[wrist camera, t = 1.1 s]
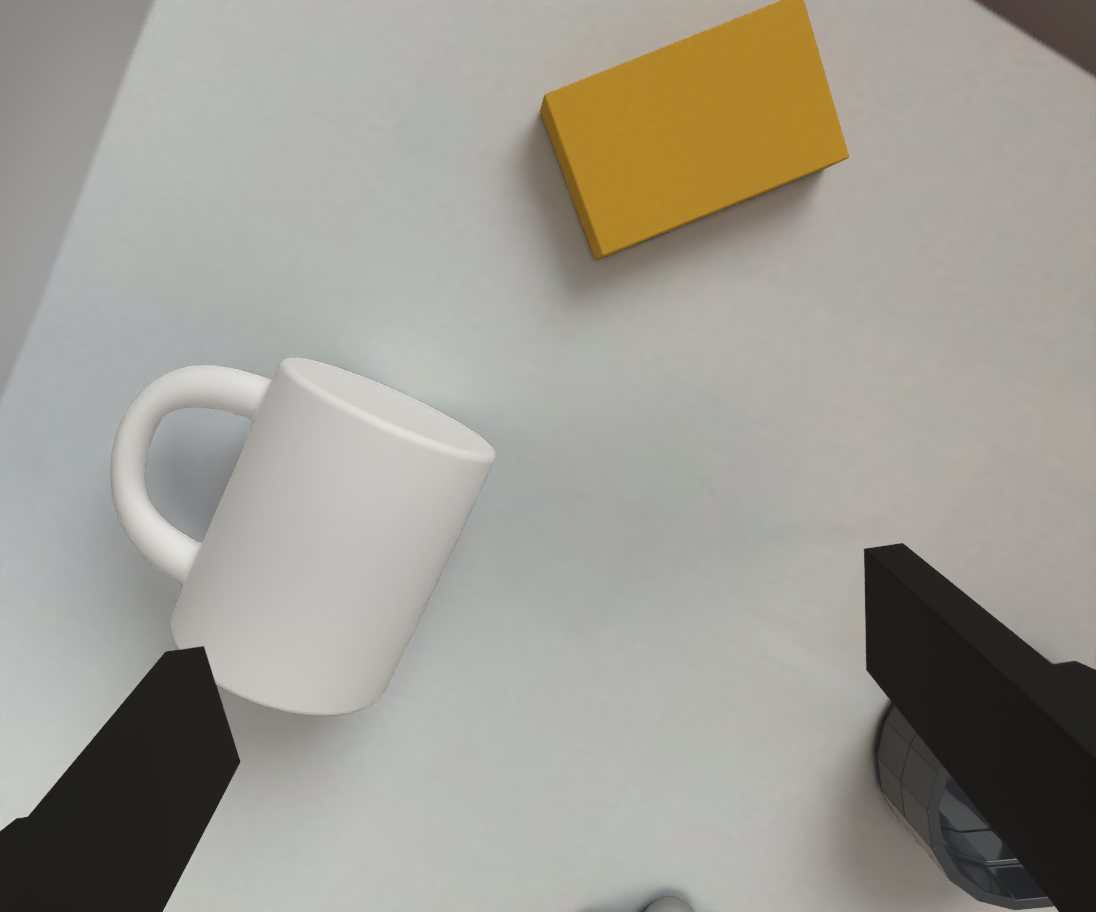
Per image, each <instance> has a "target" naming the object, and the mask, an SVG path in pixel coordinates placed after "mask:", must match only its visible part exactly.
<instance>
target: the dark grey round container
mask: <svg viewBox="0 0 1096 912" xmlns="http://www.w3.org/2000/svg"><path fill="white" fill-rule="evenodd" d="M1045 659H1046V658H1045ZM1047 660H1048V659H1047ZM1048 661H1049V660H1048ZM1049 662H1050V663H1052V664H1054V663H1053V662H1051V661H1049ZM878 766H879V774H880V781H881V789H882V792H883V794H884V796H885V797H886V799H887V801H888V802H889V804H890V806H891V808H892V809H893V811H894V813H895V815H896V816H897V818H898V819H899V820H900V821H901V823H902V824H903V825H904V826H905V827H906V829H907V830H908V831H909V832H910V833H911V835H912V836H913V837H914V838H915V839H916V841H917V842H918V843H919V844H920V845H921V846H922V848H923V849H924V850H925V851H926V853H927V854H928V855H929V856H930V857H931V859H932V860H933V861H934V862H935V863H936V865H937V866H938V867H939V868H940V869H941V871H942V872H943V873H944V874H945V875H946V876H947V878H948V879H949V880H950V881H951V882H953V883H954V884H956V885H957V886H958V887H960V888H961V889H962V890H964V891H965V892H966V893H968V894H969V895H971V896H972V897H973V898H975V899H976V900H978V901H980V902H984V903H988V904H992V905H996V906H1000V907H1004V908H1008V909H1012V910H1022V909H1032V908H1043V907H1053V906H1054V905H1053V903H1052V902H1051V901H1050V900H1049V898H1048V897H1047V896H1046V895H1045V893H1044V892H1043V891H1042V890H1041V888H1040V887H1039V886H1038V885H1037V883H1036V882H1035V881H1034V880H1033V878H1032V877H1031V876H1030V875H1029V873H1028V872H1027V871H1026V870H1025V868H1024V867H1023V866H1022V864H1021V863H1020V862H1019V861H1018V859H1017V858H1016V857H1015V856H1014V854H1013V853H1012V852H1011V851H1010V849H1009V848H1008V847H1007V846H1006V844H1005V843H1004V842H1003V841H1002V839H1001V838H1000V837H999V836H998V834H997V833H996V832H995V831H994V829H993V828H992V827H991V826H990V824H989V823H988V822H987V821H986V819H985V818H984V817H983V816H982V814H981V813H980V812H979V811H978V809H977V808H976V807H975V806H974V804H973V803H972V802H971V801H970V799H969V798H968V797H967V795H966V794H965V793H964V792H963V790H962V789H961V788H960V787H959V785H958V784H957V783H956V782H955V780H954V779H953V778H952V777H951V775H950V774H949V773H948V772H947V770H946V769H945V768H944V767H943V765H942V764H941V763H940V762H939V760H938V759H937V758H936V757H935V755H934V754H933V753H932V752H931V750H930V749H929V748H928V747H927V745H926V744H925V743H924V742H923V740H922V739H921V738H920V737H919V735H918V734H917V733H916V732H915V730H914V729H913V728H912V726H911V725H910V724H909V723H908V721H907V720H906V719H905V718H904V716H903V715H902V714H901V713H900V711H899V710H898V709H897V708H896V706H895V705H894V704H892V705H891V707H890V709H889V711H888V713H887V715H886V718H885V720H884V722H883V726H882V729H881V732H880V737H879V743H878Z"/></svg>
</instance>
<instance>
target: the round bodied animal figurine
mask: <svg viewBox="0 0 1096 912" xmlns="http://www.w3.org/2000/svg"><path fill="white" fill-rule="evenodd" d="M645 912H694V910H693V909H692V907H691V906H690V905H689V904H688V903H687V902H685V901H684V900H682V899H680V898H677V897H672V896H666V897H662V898H659V899H657V900H655V901H654V902H653V903H651V904H650V905H649V906H648V908H647V909H646V910H645Z"/></svg>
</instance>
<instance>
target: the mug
mask: <svg viewBox="0 0 1096 912" xmlns="http://www.w3.org/2000/svg"><path fill="white" fill-rule="evenodd" d="M188 407H204V408H211V409H218V410H223V411H227V412H231V413H234V414H238V415H241V416H244V417H247V418H249V419H251V420H252V422H253V426H252V429H251V431H250V433H249V435H248V438H247V440H246V442H245V445H244V447H243V449H242V452H241V454H240V456H239V459H238V461H237V463H236V466H235V468H234V470H233V473H232V475H231V477H230V480H229V482H228V484H227V487H226V489H225V491H224V494H223V496H222V498H221V501H220V503H219V505H218V508H217V510H216V512H215V515H214V517H213V519H212V522H211V524H210V526H209V529H208V531H207V533H206V536H205V538H204V540H203V543H199V542H197V541H195V540H193V539H192V538H190V537H188V536H186V535H185V534H183V533H182V532H180V531H178V530H177V529H176V528H174V527H173V526H172V525H170V524H169V523H168V522H167V521H166V520H164V519H163V518H162V517H161V516H160V515H159V513H158V512H157V511H156V510H155V509H154V507H153V506H152V504H151V502H150V500H149V498H148V495H147V492H146V488H145V465H146V459H147V454H148V450H149V446H150V443H151V440H152V437H153V435H154V432H155V430H156V428H157V426H158V425H159V423H160V422H161V420H162V419H163V418H164V417H165V416H166V415H167V414H168V413H170V412H172V411H174V410H177V409H181V408H188ZM494 461H495V452H494V450H493V448H492V447H491V446H490V444H489V443H488V442H486V441H485V440H484V439H483V438H482V437H480V436H479V435H478V434H476V433H475V432H473V431H472V430H470V429H469V428H467V427H466V426H464V425H463V424H461V423H459V422H458V421H456V420H454V419H452V418H451V417H449V416H447V415H445V414H443V413H441V412H440V411H438V410H436V409H434V408H432V407H430V406H428V405H426V404H424V403H422V402H420V401H418V400H416V399H414V398H412V397H410V396H407V395H405V394H403V393H401V392H399V391H396V390H394V389H392V388H390V387H387V386H385V385H383V384H380V383H378V382H375V381H373V380H370V379H368V378H365V377H363V376H360V375H358V374H355V373H352V372H349V371H347V370H344V369H341V368H338V367H335V366H332V365H328V364H325V363H321V362H318V361H314V360H309V359H304V358H287V359H284V360H283V361H282V362H281V363H280V364H279V366H278V368H277V370H276V373H275V375H274V377H273V379H268V378H265V377H262V376H259V375H256V374H253V373H249V372H246V371H242V370H239V369H234V368H229V367H223V366H213V365H197V366H189V367H183V368H180V369H176V370H173V371H171V372H168V373H166V374H164V375H162V376H160V377H159V378H157V379H156V380H154V381H153V382H151V383H150V384H149V385H148V386H147V387H145V388H144V389H143V390H142V391H141V392H140V393H139V394H138V396H137V397H136V398H135V399H134V400H133V402H132V403H131V405H130V406H129V408H128V409H127V411H126V413H125V414H124V416H123V418H122V420H121V422H120V425H119V428H118V430H117V433H116V436H115V440H114V444H113V449H112V455H111V488H112V494H113V500H114V504H115V508H116V511H117V514H118V517H119V520H120V522H121V524H122V527H123V529H124V531H125V532H126V534H127V536H128V537H129V539H130V541H131V542H132V543H133V545H134V546H135V547H136V549H137V550H138V551H139V552H140V553H141V554H142V555H143V556H144V557H145V558H146V559H147V560H148V561H149V562H150V563H151V564H153V565H154V566H155V567H156V568H157V569H159V570H160V571H162V572H163V573H165V574H166V575H168V576H169V577H171V578H173V579H174V580H176V581H178V582H180V583H181V585H182V591H181V594H180V596H179V598H178V601H177V603H176V605H175V608H174V610H173V613H172V616H171V622H170V626H171V633H172V637H173V639H174V642H175V644H176V646H177V648H178V649H179V650H180V649H187V648H194V647H201V646H204V648H205V651H206V654H207V657H208V660H209V664H210V667H211V670H212V673H213V676H214V679H215V683H216V684H217V685H218V686H220V687H221V688H223V689H225V690H227V691H229V692H231V693H233V694H235V695H237V696H239V697H241V698H244V699H246V700H248V701H251V702H253V703H256V704H259V705H262V706H265V707H269V708H272V709H276V710H280V711H284V712H290V713H295V714H302V715H314V716H332V715H342V714H347V713H352V712H355V711H358V710H361V709H363V708H366V707H368V706H369V705H371V704H373V703H374V702H375V701H376V700H378V699H379V698H380V697H381V695H382V694H383V693H384V691H385V690H386V688H387V686H388V683H389V681H390V679H391V677H392V675H393V673H394V671H395V669H396V667H397V665H398V662H399V660H400V658H401V656H402V654H403V652H404V650H405V648H406V646H407V644H408V641H409V639H410V637H411V635H412V633H413V631H414V629H415V627H416V625H417V623H418V621H419V618H420V616H421V614H422V612H423V610H424V608H425V606H426V604H427V602H428V600H429V597H430V595H431V593H432V591H433V589H434V587H435V585H436V583H437V581H438V579H439V576H440V574H441V572H442V570H443V568H444V566H445V564H446V562H447V560H448V558H449V556H450V553H451V551H452V549H453V547H454V545H455V543H456V541H457V539H458V537H459V535H460V532H461V530H462V528H463V526H464V524H465V522H466V520H467V518H468V516H469V514H470V511H471V509H472V507H473V505H474V503H475V501H476V499H477V497H478V495H479V493H480V491H481V488H482V486H483V484H484V482H485V480H486V478H487V476H488V474H489V472H490V470H491V467H492V465H493V463H494Z"/></svg>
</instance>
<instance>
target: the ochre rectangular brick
mask: <svg viewBox="0 0 1096 912" xmlns="http://www.w3.org/2000/svg"><path fill="white" fill-rule="evenodd" d="M540 112H541V115H542V118H543V120H544V123H545V126H546V129H547V131H548V134H549V137H550V140H551V142H552V145H553V148H554V150H555V153H556V156H557V159H558V161H559V164H560V167H561V170H562V172H563V175H564V178H565V180H566V183H567V186H568V189H569V191H570V194H571V197H572V199H573V202H574V205H575V208H576V210H577V213H578V216H579V219H580V221H581V224H582V227H583V229H584V232H585V235H586V238H587V240H588V243H589V246H590V249H591V251H592V254H593V257H594V259H595V260H598V259H601V258H603V257H606V256H608V255H611V254H613V253H616V252H618V251H621V250H623V249H626V248H628V247H631V246H633V245H636V244H638V243H641V242H643V241H646V240H648V239H651V238H653V237H656V236H658V235H661V234H663V233H666V232H668V231H671V230H673V229H676V228H678V227H681V226H683V225H686V224H688V223H691V222H693V221H696V220H698V219H701V218H703V217H706V216H708V215H711V214H713V213H716V212H718V211H721V210H723V209H726V208H728V207H731V206H733V205H736V204H738V203H741V202H743V201H746V200H748V199H750V198H753V197H755V196H758V195H760V194H763V193H765V192H768V191H770V190H773V189H775V188H778V187H780V186H783V185H785V184H788V183H790V182H793V181H795V180H798V179H800V178H803V177H805V176H808V175H810V174H813V173H815V172H818V171H820V170H823V169H825V168H828V167H830V166H832V165H834V164H836V163H839V162H841V161H843V160H845V159H847V158H848V157H849V154H848V151H847V148H846V144H845V141H844V137H843V134H842V130H841V127H840V123H839V120H838V117H837V113H836V110H835V106H834V103H833V99H832V96H831V92H830V89H829V86H828V82H827V79H826V75H825V72H824V68H823V65H822V61H821V58H820V54H819V51H818V48H817V44H816V41H815V37H814V34H813V30H812V27H811V23H810V20H809V17H808V13H807V10H806V6H805V3H804V0H782V1H779V2H777V3H774V4H772V5H769V6H767V7H764V8H762V9H759V10H757V11H754V12H752V13H749V14H747V15H744V16H742V17H739V18H737V19H734V20H732V21H729V22H727V23H724V24H722V25H719V26H717V27H714V28H711V29H709V30H706V31H704V32H701V33H699V34H696V35H694V36H691V37H689V38H686V39H684V40H681V41H679V42H676V43H674V44H671V45H669V46H666V47H664V48H661V49H659V50H656V51H654V52H651V53H648V54H646V55H643V56H641V57H638V58H636V59H633V60H631V61H628V62H626V63H623V64H621V65H618V66H616V67H613V68H611V69H608V70H606V71H603V72H601V73H598V74H596V75H593V76H591V77H588V78H586V79H583V80H580V81H578V82H575V83H573V84H570V85H568V86H565V87H563V88H560V89H558V90H555V91H553V92H550V93H548V94H545V95H544V98H543V102H542V106H541V109H540Z"/></svg>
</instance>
